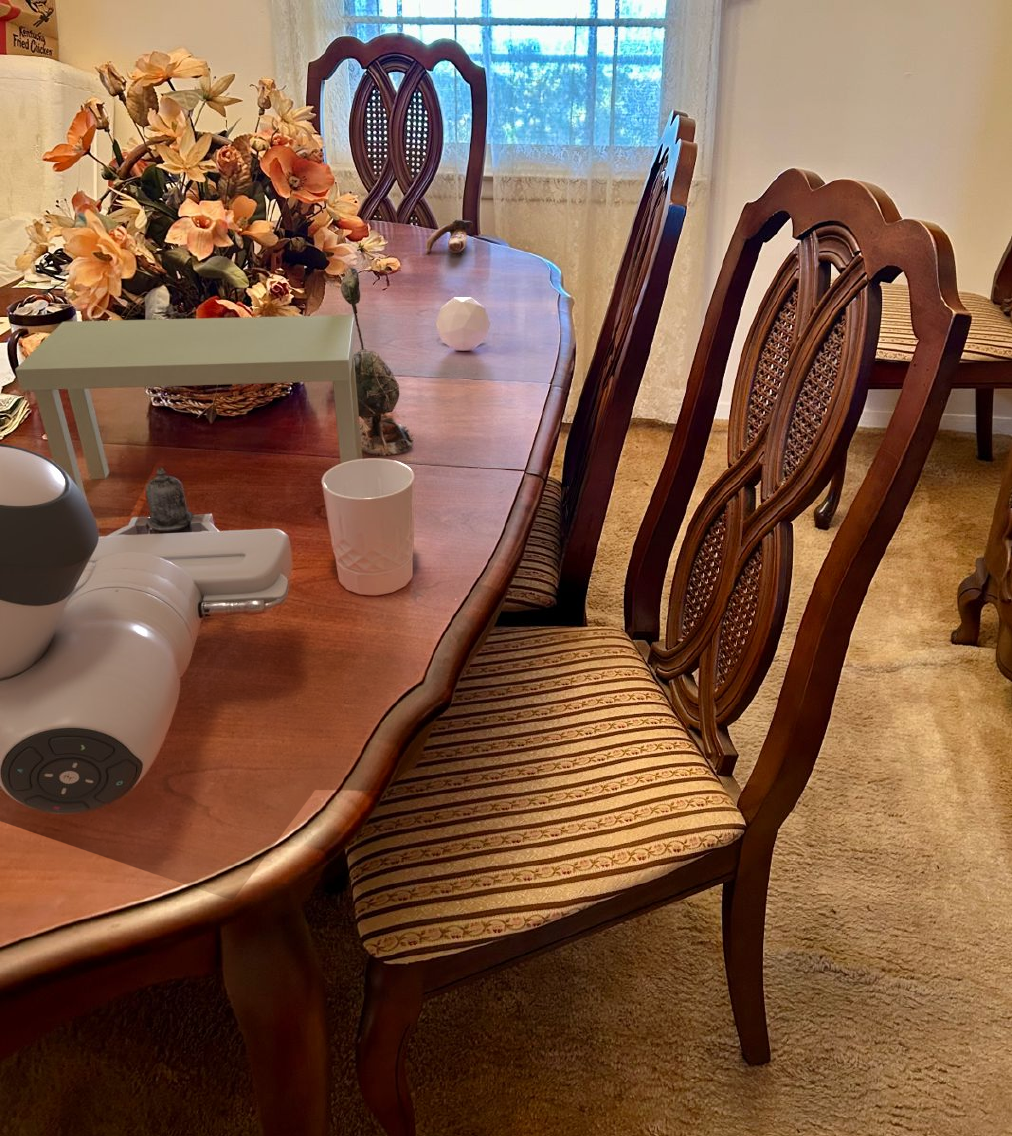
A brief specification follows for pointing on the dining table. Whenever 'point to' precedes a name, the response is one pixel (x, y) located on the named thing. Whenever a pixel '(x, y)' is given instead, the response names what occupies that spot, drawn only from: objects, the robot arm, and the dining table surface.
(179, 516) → the salt shaker
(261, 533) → the robot arm
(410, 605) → the dining table surface
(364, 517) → the white cup
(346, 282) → the plant with pod
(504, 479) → the dining table surface
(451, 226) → the lashed bone hook
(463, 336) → the geometric ball
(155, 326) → the side table
